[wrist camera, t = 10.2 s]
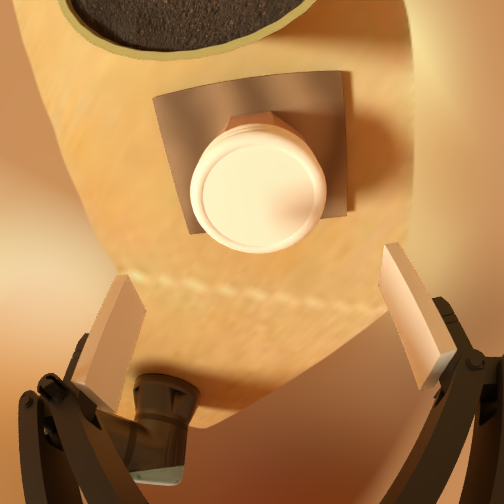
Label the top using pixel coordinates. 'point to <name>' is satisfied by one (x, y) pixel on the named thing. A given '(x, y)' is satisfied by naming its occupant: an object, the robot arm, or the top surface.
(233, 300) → the top surface
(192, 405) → the robot arm
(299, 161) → the cream flat cylinder
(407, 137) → the top surface
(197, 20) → the potted cactus
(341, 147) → the board
